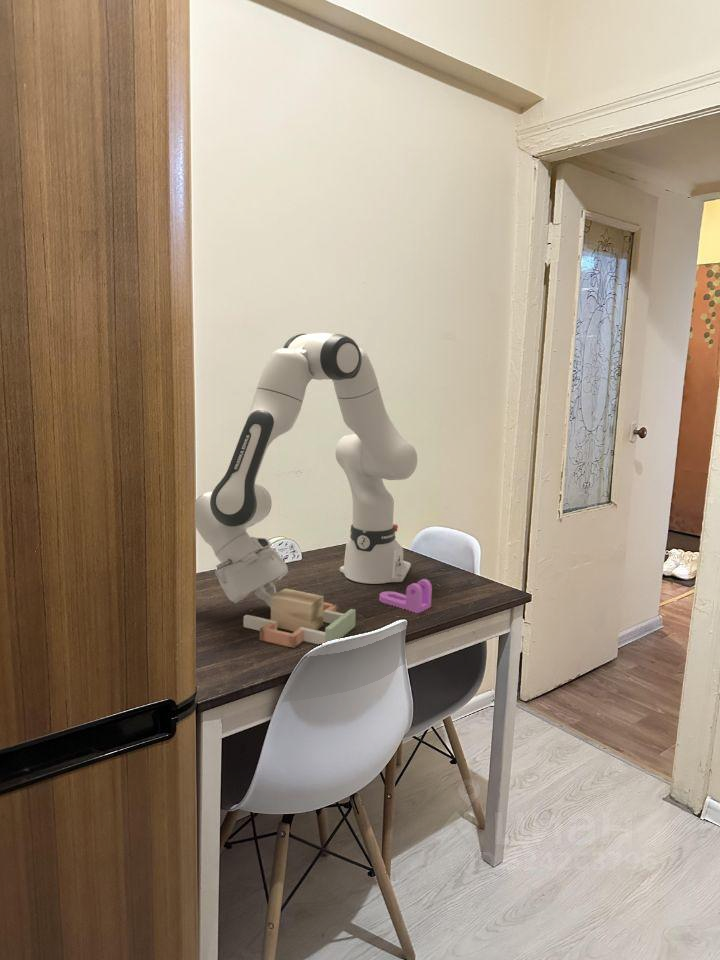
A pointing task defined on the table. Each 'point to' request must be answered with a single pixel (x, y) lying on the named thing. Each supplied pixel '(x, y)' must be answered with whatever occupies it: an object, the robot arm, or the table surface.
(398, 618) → the table surface
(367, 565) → the robot arm
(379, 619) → the table surface
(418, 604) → the bracket
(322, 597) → the maple block
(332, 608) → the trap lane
